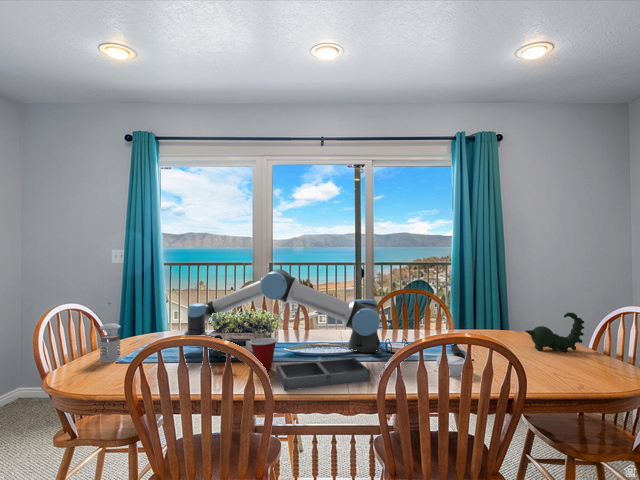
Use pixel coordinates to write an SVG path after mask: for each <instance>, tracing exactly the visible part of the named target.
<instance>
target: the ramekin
mask: <svg viewBox="0 0 640 480" xmlns="http://www.w3.org/2000/svg"><path fill="white" fill-rule="evenodd" d="M446 355H447V358H448V364H449V369H450V376H449V377H460V376H462V375H461V372H462V367H463V364H464V361H465V360H466V359H465V358H464V359H463V358H461V357H458V356H454V355H449V354H446ZM441 356H442V355H438V356H436V357H435V362H436V365H437V368H438V366H439V362H440V358H441Z"/></svg>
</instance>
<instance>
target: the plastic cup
mask: <svg viewBox="0 0 640 480" xmlns="http://www.w3.org/2000/svg"><path fill="white" fill-rule="evenodd" d="M277 342H278V340H277V338H273V337H263V338H262V337H261V338H256V339H255V338H254V339H252V340H250V344H251V346H252V348H251V349H252V353H253V357H254V356H255V357H256V358H257V359H258V360H259V361H260V362H261V363H262V364H263V366H264V367H265V368H266V370H267V371H268V372H270V371H271V370H272V367H273V361H274V356H275V355H274V354H275V349H276V345H277Z"/></svg>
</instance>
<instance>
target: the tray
mask: <svg viewBox="0 0 640 480" xmlns="http://www.w3.org/2000/svg"><path fill="white" fill-rule="evenodd" d="M275 366H276V368H275V369H276V370H275V372H276V376H277V378H278V380H279V382H281V383H280V384H282V385H281V387H282V386H283V387H282V389H283V388H284V389H283V390H284V391H289V390H288V389H293V390H298V389H297V388H302V389H311V388H318V387H320V386H321V387H329V386H336V385H337V386H339V385H346V384H355V383H356V384H357V383H364V382H365V383H366V382H367V383H368V382H371V370H370V369H368V367H366V366H365V365H364V364H362V363H361V361H359V360H358V359H357V358H356V357H348V358H337V359H335V358H334V359H326V360H325V359H324V360H316V361H314V360H313V361H302V362H301V361H300V362H293V363H292V362H291V363H290V362H289V363H281V364H280V363H279V364H276V365H275ZM321 387H320V388H321Z"/></svg>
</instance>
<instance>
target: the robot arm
mask: <svg viewBox="0 0 640 480" xmlns="http://www.w3.org/2000/svg"><path fill="white" fill-rule="evenodd" d="M263 297H266V298H267V299H269V300H273V301H276V300H277V301H281V302H283V303H286V304H288V303H290V302H293V303H295V304H298V305H301V306H303V307H306V308H308V309H310V310H313V311H316V312H319V313H321V314H323V315H325V316H328V317H331V318H333V319H336V320H338V321H341V322H342V323H343V325H344V327H346V328H349V329H351V334H350V336H349V337H350V338H349V341H348V349H349V350H350V349H353V350H357V351H359V352H358V353H366V354H367V353H375V352H374V351H376V350H379V349H380V350H381V348H382V344H381V341H380V337H379V335H378V329H379V327H380V324H381V319H380V316H379V314H378V301H377V300H376V299H368V298H367V299H365V298H364V299H361V298H360V299H353V300H352V301H351V302H349V301H346V300H343V299H341V298H338V297H335V296H333V295H330V294H328V293H326V292H323V291H320V290H317V289H315V288H312V287H310V286H307V285H305V284H302V283H300V282H299V281H298V279H297V277H294V276H291V274H289V273H288V272H287V271H286V270H283V269H274V270H272V271H270V272H268V273H266V274H265V275H264V276H263V277H260V280H258V281H255V282H254V283H251V284H249V285H246V286H244V287H241V288H240V289H237V290H235V291H232V292H229V293H227V294H225V295H222V296H221V297H218V298H216V299H212V300H211V301H207V302H205V303H191V304H189V305H188V307H187V330H185V331H184V334H183V336H184V335H205V336H211V337H215V338H220V339H224V340H227V341H230V342H233V343H235V344H237V345H239V346H241V347H245V348H248V349H252V346H251V344H250V341H251V338H234V337H230V338H228V339H226V338H223V336H222V335H221V334H216V333H213V332H208V331H206V321H209V320H210V319H211V318H210V317H211V315H212V313H213V312H214V313H217V312H222V314H224V313H227V312H229V311H231V310H233V309H235V308H236V309H237V308H239V307H241V306H244V305H246V304H248V303H251V302H253V301H256V300H258V299H260V298H263ZM209 318H210V319H209ZM192 348H196V349H200V350H203V347H192ZM208 350H209V351H208V352H209V353H211V355H212V356H214V357H217V356H218V358H221V357H222V356H225V357H227V356H226V353H224V352H221V351H217V350H213V349H210V348H209V349H208ZM380 350H379V351H380ZM376 352H377V351H376ZM230 358H233V359H234V358H236V356H235V357H234V356H231V357H230Z"/></svg>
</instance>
